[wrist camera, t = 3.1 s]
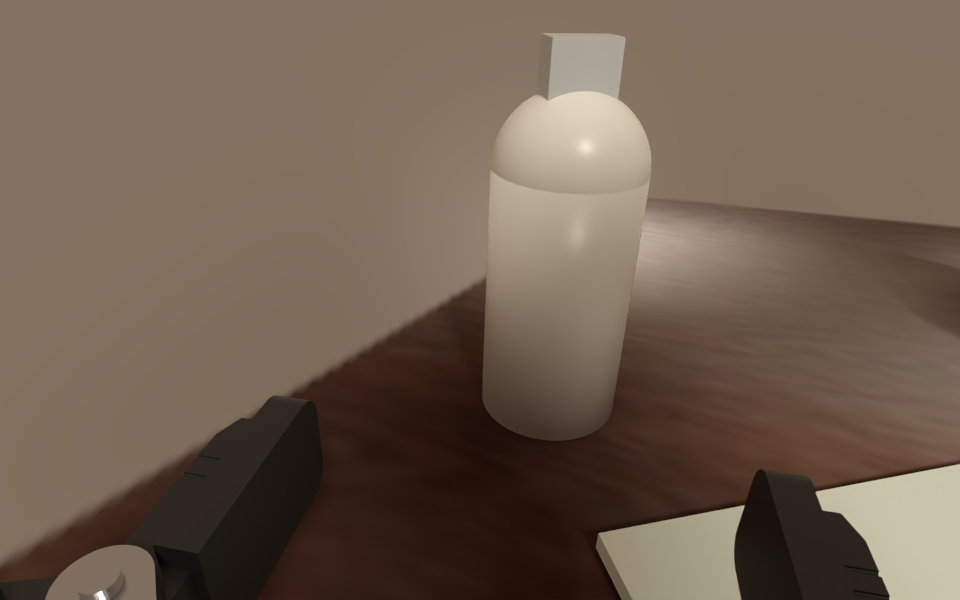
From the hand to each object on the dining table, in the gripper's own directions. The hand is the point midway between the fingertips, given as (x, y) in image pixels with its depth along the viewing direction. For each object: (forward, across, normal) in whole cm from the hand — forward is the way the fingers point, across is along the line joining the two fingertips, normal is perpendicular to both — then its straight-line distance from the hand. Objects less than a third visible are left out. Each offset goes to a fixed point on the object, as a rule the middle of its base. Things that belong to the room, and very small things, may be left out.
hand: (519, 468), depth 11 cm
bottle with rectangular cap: (+11, 0, +6) cm, 13 cm away
